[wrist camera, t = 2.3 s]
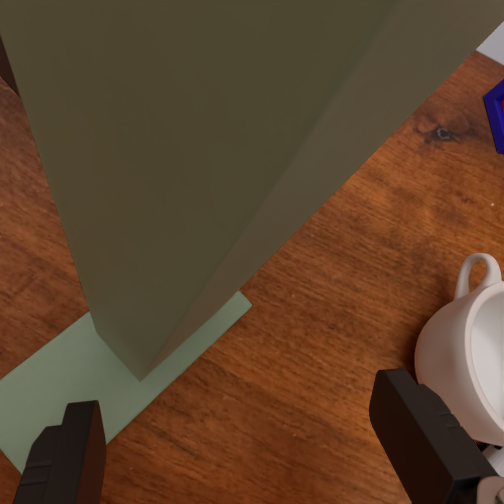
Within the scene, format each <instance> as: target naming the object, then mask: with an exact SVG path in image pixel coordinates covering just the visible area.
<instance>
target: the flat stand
mask: <svg viewBox="0 0 504 504" xmlns="http://www.w3.org/2000/svg"><path fill="white" fill-rule="evenodd" d="M503 21H504V0H0V35H1V38H2V41H3V44H4V47H5V50H6V53H7V56H8V59H9V62H10V66H11V69H12V72H13V75H14V78H15V81H16V84H17V87H18V90H19V93H20V97H21V100H22V103H23V106H24V109H25V112H26V115H27V118H28V121H29V125H30V128H31V131H32V134H33V137H34V140H35V143H36V146H37V149H38V152H39V156H40V159H41V162H42V165H43V168H44V171H45V174H46V177H47V180H48V183H49V187H50V190H51V193H52V196H53V199H54V202H55V205H56V208H57V211H58V215H59V218H60V221H61V224H62V227H63V230H64V233H65V236H66V239H67V242H68V246H69V249H70V252H71V255H72V258H73V261H74V264H75V267H76V270H77V273H78V277H79V280H80V283H81V286H82V289H83V292H84V295H85V298H86V301H87V305H88V308H89V311H88V312H87V313H86V314H84V315H83V316H82V317H81V318H79V319H78V320H77V321H75V322H74V323H73V324H71V325H70V326H69V327H68V328H66V329H65V330H64V331H62V332H61V333H60V334H58V335H57V336H56V337H55V338H53V339H52V340H51V341H49V342H48V343H47V344H46V345H44V346H43V347H42V348H40V349H39V350H38V351H36V352H35V353H34V354H33V355H31V356H30V357H29V358H27V359H26V360H25V361H23V362H22V363H21V364H20V365H18V366H17V367H16V368H14V369H13V370H12V371H10V372H9V373H8V374H7V375H5V376H4V377H3V378H1V379H0V449H1V451H2V452H3V453H4V454H5V455H6V457H7V458H8V459H9V460H10V461H11V463H12V464H13V465H14V466H15V467H16V469H17V470H18V471H19V472H20V473H21V475H22V473H23V470H24V469H25V464H26V461H27V458H28V455H29V452H30V449H31V445H32V444H33V442H34V441H35V440H36V439H37V437H38V436H39V435H40V434H41V432H42V431H43V430H44V428H45V427H46V426H55V425H61V424H62V420H63V417H64V413H65V409H66V406H67V404H68V403H73V402H82V401H91V400H98V401H99V405H100V410H101V416H102V421H103V427H104V432H105V438H106V445H107V444H108V443H109V442H110V441H111V440H112V439H113V438H114V437H115V436H116V435H117V434H118V433H119V432H120V431H122V430H123V429H124V428H125V427H126V426H127V425H128V424H129V423H130V422H131V421H132V420H133V419H134V418H135V417H136V416H137V415H138V414H139V413H140V412H142V411H143V410H144V409H145V408H146V407H147V406H148V405H149V404H150V403H151V402H152V401H153V400H154V399H155V398H156V397H157V396H158V395H159V394H160V393H162V392H163V391H164V390H165V389H166V388H167V387H168V386H169V385H170V384H171V383H172V382H173V381H174V380H175V379H176V378H177V377H178V376H179V375H181V374H182V373H183V372H184V371H185V370H186V369H187V368H188V367H189V366H190V365H191V364H192V363H193V362H194V361H195V360H196V359H197V358H198V357H199V356H201V355H202V354H203V353H204V352H205V351H206V350H207V349H208V348H209V347H210V346H211V345H212V344H213V343H214V342H215V341H216V340H217V339H218V338H219V337H221V336H222V335H223V334H224V333H225V332H226V331H227V330H228V329H229V328H230V327H231V326H232V325H233V324H234V323H235V322H236V321H237V320H238V319H239V318H241V317H242V316H243V315H244V314H245V313H246V312H247V311H248V310H249V309H250V308H251V307H252V304H251V303H250V302H249V301H248V300H247V299H246V297H245V296H244V295H243V294H242V293H241V292H240V291H239V289H240V288H241V287H242V286H243V285H244V284H245V283H246V282H247V281H248V280H249V279H250V278H251V277H252V276H253V275H254V274H255V273H256V272H257V271H258V270H259V269H260V268H261V267H262V266H263V265H264V264H265V263H266V262H267V261H268V260H269V259H270V258H271V257H272V256H273V255H274V254H275V253H276V252H277V251H278V250H279V249H280V248H281V247H282V246H283V245H284V244H285V243H286V242H287V241H288V240H289V239H290V238H291V237H292V236H293V235H294V234H295V233H296V231H297V230H298V229H299V228H300V227H301V226H302V225H303V224H304V223H305V222H306V221H307V220H308V219H309V218H310V217H311V216H312V215H313V214H314V213H315V212H316V211H317V210H318V209H319V208H320V207H321V206H322V205H323V204H324V203H325V202H326V201H327V200H328V199H329V198H330V197H331V196H332V195H333V194H334V193H335V192H336V191H337V190H338V189H339V188H340V187H341V186H342V185H343V184H344V183H345V182H346V181H347V180H348V179H349V178H350V177H351V176H352V175H353V174H354V173H355V172H356V171H357V170H358V168H359V167H360V166H361V165H362V164H363V163H364V162H365V161H366V160H367V159H368V158H369V157H370V156H371V155H372V154H373V153H374V152H375V151H376V150H377V149H378V148H379V147H380V146H381V145H382V144H383V143H384V142H385V141H386V140H387V139H388V138H389V137H390V136H391V135H392V134H393V133H394V132H395V131H396V130H397V129H398V128H399V127H400V126H401V125H402V124H403V123H404V122H405V121H406V120H407V119H408V118H409V117H410V116H411V115H412V114H413V113H414V112H415V111H416V110H417V109H418V108H419V107H420V106H421V104H422V103H423V102H424V101H425V100H426V99H427V98H428V97H429V96H430V95H431V94H432V93H433V92H434V91H435V90H436V89H437V88H438V87H439V86H440V85H441V84H442V83H443V82H444V81H445V80H446V79H447V78H448V77H449V76H450V75H451V74H452V73H453V72H454V71H455V70H456V69H457V68H458V67H459V66H460V65H461V64H462V63H463V62H464V61H465V60H466V59H467V58H468V57H469V56H470V55H471V54H472V53H473V52H474V51H475V50H476V49H477V47H478V46H480V44H482V43H483V41H484V40H485V39H486V38H487V37H488V36H489V35H490V34H491V33H492V32H493V31H494V30H495V29H496V28H497V27H498V26H499V25H500V24H501V23H502V22H503Z"/></svg>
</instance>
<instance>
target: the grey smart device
mask: <svg viewBox="0 0 504 504" xmlns="http://www.w3.org/2000/svg"><path fill="white" fill-rule="evenodd" d="M481 452H482V453H483V455H484V456H485V457H486V459H487V460H488V461H489V463H490V464H491V465H492V467H493V468H494V469H495V471H496V472H497V473H498V474H499V475H500V477H504V447H503V446H498V445H493V444H489V443H488V444H487V445H486V446H485V447H484V448H483V449H482V450H481Z"/></svg>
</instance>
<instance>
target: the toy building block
mask: <svg viewBox="0 0 504 504" xmlns="http://www.w3.org/2000/svg"><path fill="white" fill-rule="evenodd" d="M483 97H484V101H485V105H486V109H487V113H488V117H489V121H490V125H491V129H492V133H493V137H494V141H495V145H496V149H497V153H504V79H503V80H502V81H501V82H500V83H498V84H497V85H496V86H495V87H494V88H493V89H491V90H490V91H489V92H488V93H487V94H486V95H484V96H483Z"/></svg>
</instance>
